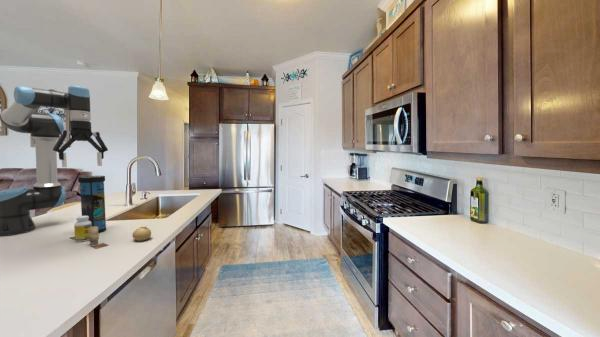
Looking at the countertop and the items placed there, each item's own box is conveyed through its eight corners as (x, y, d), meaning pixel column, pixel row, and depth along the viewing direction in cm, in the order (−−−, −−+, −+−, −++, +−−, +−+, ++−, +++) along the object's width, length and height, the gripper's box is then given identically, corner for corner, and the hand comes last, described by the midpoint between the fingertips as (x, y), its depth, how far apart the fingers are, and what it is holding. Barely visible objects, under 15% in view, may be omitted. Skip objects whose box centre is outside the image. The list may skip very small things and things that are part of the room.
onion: (131, 243, 125) (131, 229, 125) (133, 238, 132) (133, 224, 132) (151, 241, 129) (150, 226, 128) (151, 236, 136) (151, 222, 135)
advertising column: (86, 236, 135) (83, 178, 133) (77, 232, 141) (74, 176, 138) (111, 230, 144) (108, 176, 142) (101, 227, 150) (99, 175, 148)
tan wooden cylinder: (87, 244, 124) (87, 227, 123) (97, 241, 127) (96, 225, 126) (91, 245, 122) (90, 228, 121) (100, 243, 125) (99, 227, 124)
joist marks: (69, 238, 132) (69, 237, 132) (81, 235, 136) (81, 234, 136) (95, 248, 118) (95, 248, 118) (108, 245, 122) (108, 244, 122)
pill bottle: (82, 242, 125) (81, 219, 125) (71, 241, 127) (70, 218, 126) (95, 238, 132) (94, 215, 131) (85, 237, 133) (83, 214, 132)
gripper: (47, 117, 109) (51, 168, 110) (114, 122, 130) (116, 165, 132) (41, 118, 112) (44, 167, 114) (107, 123, 134) (108, 164, 135)
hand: (83, 166), depth 123 cm, fingers open, 13 cm apart
